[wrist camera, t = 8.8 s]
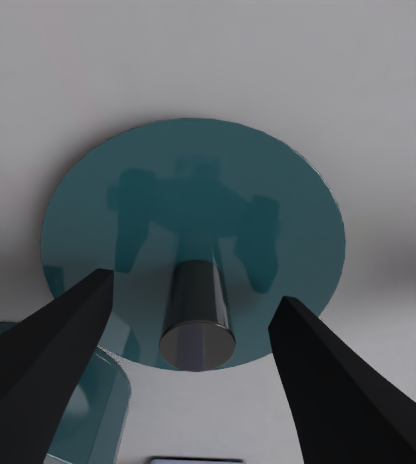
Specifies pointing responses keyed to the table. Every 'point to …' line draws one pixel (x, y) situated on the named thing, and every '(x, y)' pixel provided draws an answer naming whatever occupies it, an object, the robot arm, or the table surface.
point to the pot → (92, 414)
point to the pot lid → (195, 239)
